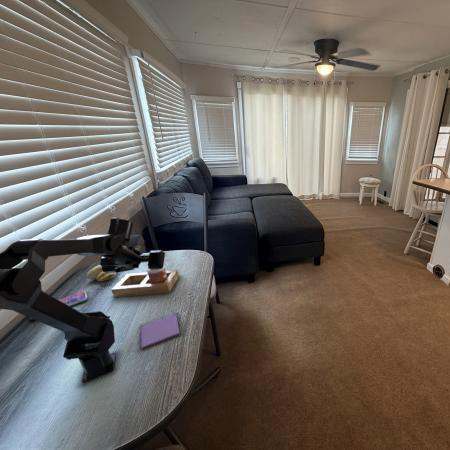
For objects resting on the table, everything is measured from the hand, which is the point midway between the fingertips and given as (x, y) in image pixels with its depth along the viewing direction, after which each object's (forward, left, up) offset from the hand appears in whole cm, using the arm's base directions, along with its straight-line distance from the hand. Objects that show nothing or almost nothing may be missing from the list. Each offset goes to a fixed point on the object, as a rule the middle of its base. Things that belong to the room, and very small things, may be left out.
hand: (146, 267), depth 89 cm
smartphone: (+11, +30, -12) cm, 34 cm away
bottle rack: (+7, +2, -12) cm, 14 cm away
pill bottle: (+5, -2, -12) cm, 13 cm away
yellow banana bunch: (+26, +19, -12) cm, 34 cm away
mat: (-23, -1, -12) cm, 26 cm away
